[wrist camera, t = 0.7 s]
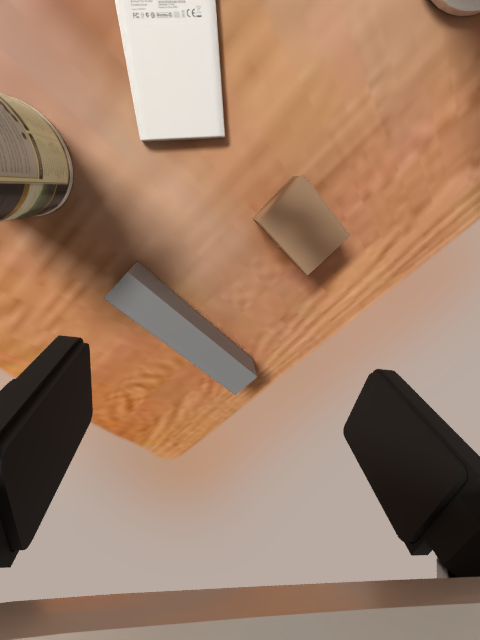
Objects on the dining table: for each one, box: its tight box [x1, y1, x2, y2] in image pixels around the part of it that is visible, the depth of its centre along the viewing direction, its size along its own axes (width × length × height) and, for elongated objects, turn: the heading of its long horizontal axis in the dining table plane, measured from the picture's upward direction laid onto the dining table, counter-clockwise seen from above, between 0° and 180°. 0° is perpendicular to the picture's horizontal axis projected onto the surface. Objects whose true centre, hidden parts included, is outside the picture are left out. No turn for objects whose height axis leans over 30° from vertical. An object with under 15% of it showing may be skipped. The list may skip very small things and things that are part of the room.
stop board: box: [104, 261, 257, 395], centre depth 34 cm, size 4×20×4 cm, turn 44°
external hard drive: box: [115, 0, 225, 142], centre depth 24 cm, size 2×8×12 cm
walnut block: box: [253, 175, 350, 276], centre depth 30 cm, size 6×8×4 cm
